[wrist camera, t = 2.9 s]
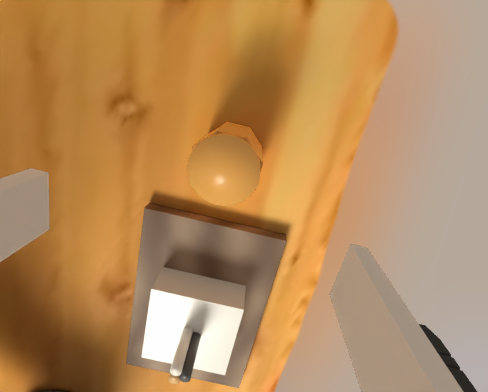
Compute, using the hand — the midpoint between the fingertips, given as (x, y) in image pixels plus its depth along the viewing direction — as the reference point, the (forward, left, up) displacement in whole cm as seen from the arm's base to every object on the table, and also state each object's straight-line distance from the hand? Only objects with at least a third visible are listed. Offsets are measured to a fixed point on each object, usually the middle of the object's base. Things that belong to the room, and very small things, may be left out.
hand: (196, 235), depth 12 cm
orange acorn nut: (0, 0, -19) cm, 19 cm away
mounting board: (0, -20, -19) cm, 28 cm away
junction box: (0, -20, -17) cm, 27 cm away
